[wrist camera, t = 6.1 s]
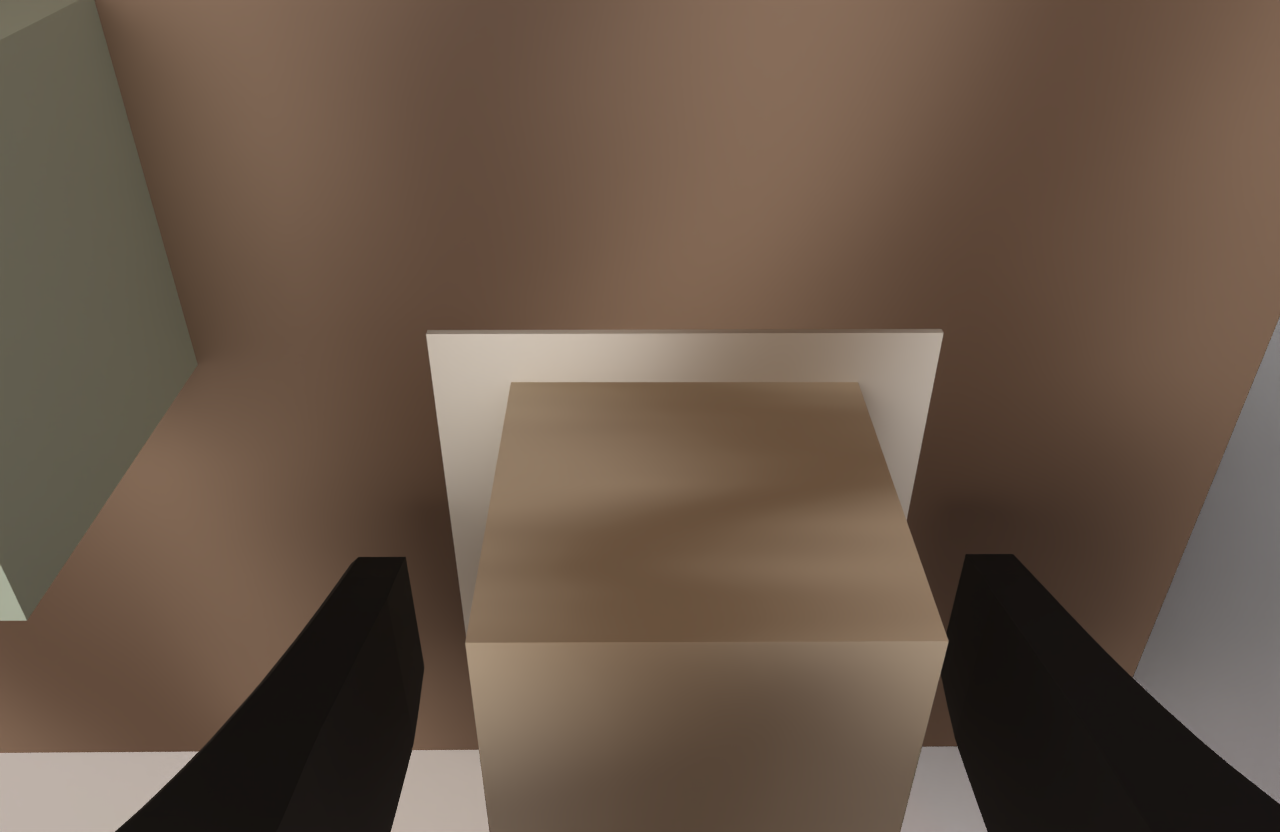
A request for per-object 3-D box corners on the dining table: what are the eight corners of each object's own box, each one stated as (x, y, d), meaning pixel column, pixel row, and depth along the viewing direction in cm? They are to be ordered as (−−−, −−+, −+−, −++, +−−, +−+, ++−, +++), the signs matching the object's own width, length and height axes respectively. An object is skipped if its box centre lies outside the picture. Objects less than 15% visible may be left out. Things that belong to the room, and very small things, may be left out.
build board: (1797, -1212, 7) (1966, -1345, 6) (1083, 699, 18) (1107, 750, 17) (-966, -1252, 7) (-1202, -1394, 6) (27, 705, 18) (-5, 757, 17)
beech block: (858, 382, 13) (948, 641, 9) (821, 627, 16) (881, 908, 12) (511, 382, 13) (465, 643, 9) (529, 628, 16) (499, 910, 12)
